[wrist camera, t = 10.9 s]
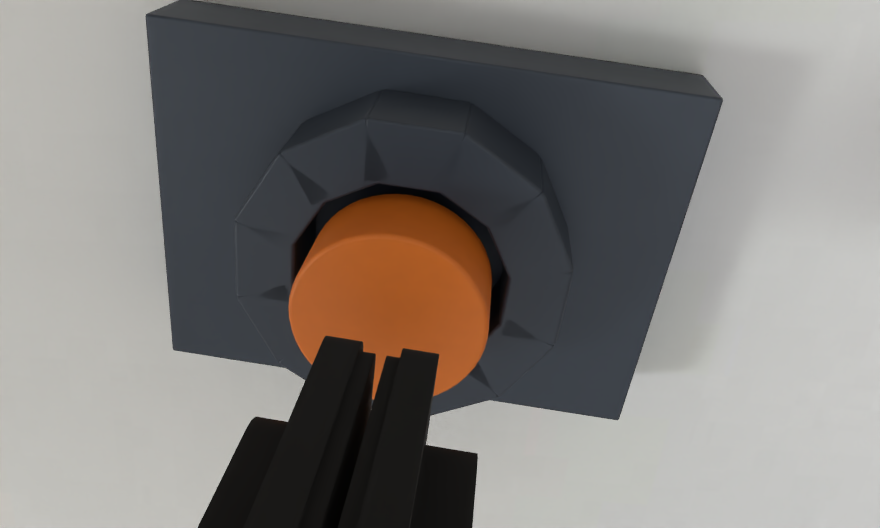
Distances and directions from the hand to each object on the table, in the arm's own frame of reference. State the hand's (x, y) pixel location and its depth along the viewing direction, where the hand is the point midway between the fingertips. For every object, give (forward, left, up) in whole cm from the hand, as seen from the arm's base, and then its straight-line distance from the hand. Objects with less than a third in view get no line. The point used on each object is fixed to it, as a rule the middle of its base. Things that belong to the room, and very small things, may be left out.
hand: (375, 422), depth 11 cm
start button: (0, 0, -4) cm, 4 cm away
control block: (0, 0, -7) cm, 7 cm away
